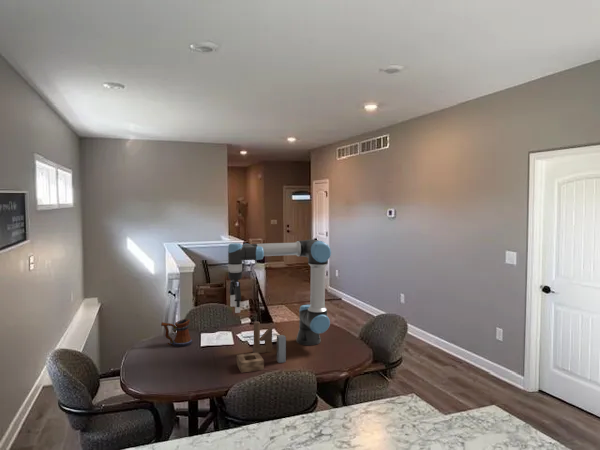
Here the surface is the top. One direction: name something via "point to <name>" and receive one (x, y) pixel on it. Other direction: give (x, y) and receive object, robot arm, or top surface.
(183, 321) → the mug
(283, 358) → the peg
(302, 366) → the top surface
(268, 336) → the brown braced frame
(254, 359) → the socket block
